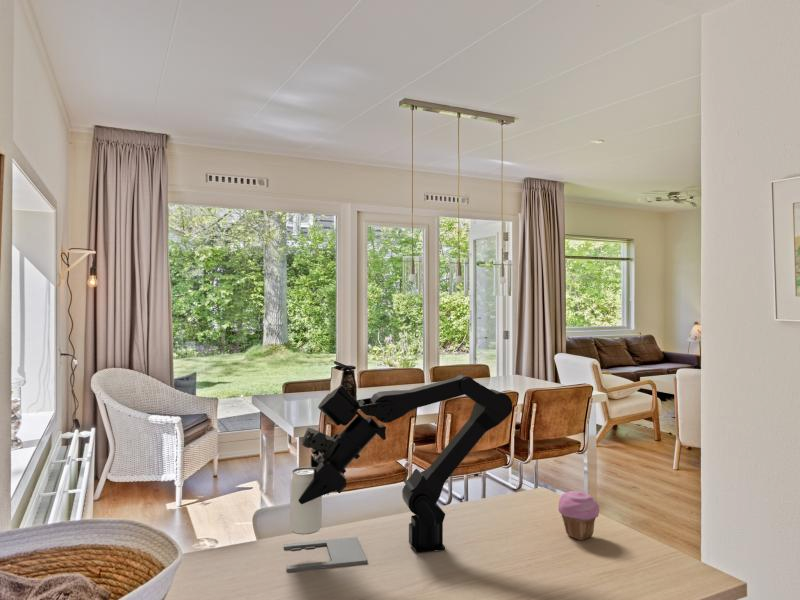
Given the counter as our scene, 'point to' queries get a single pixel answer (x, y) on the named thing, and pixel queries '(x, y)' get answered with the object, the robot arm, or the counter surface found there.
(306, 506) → the can
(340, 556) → the board
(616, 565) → the counter surface
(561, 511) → the cupcake
